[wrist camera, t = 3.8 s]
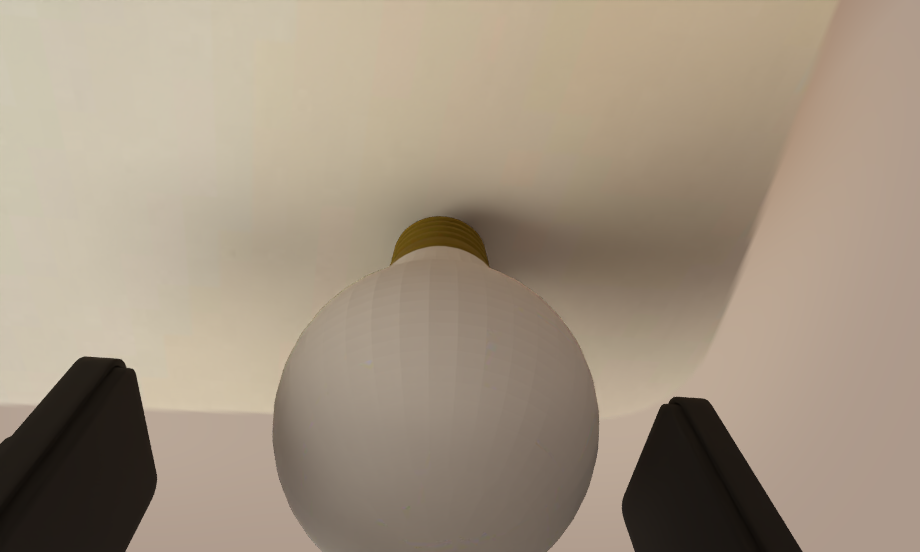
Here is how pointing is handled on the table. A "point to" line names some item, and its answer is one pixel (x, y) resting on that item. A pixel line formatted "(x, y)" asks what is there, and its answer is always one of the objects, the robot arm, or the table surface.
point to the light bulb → (436, 408)
